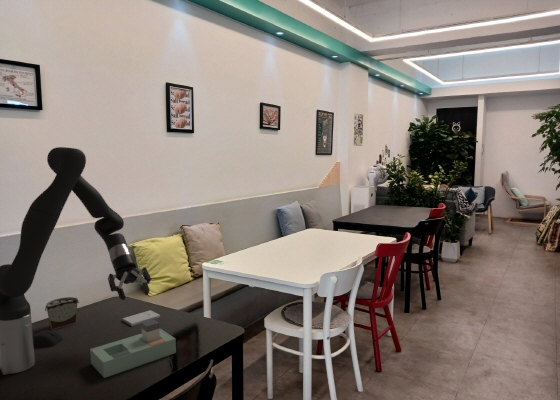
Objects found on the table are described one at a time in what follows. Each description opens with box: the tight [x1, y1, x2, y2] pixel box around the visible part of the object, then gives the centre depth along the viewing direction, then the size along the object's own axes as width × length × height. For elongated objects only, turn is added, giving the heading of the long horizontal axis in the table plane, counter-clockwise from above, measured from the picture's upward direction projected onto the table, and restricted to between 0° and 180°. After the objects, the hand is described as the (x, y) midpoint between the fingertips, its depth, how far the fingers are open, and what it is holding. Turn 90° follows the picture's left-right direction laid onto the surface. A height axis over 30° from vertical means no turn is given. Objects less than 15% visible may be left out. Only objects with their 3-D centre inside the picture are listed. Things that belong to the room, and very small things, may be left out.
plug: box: [140, 319, 160, 344], centre depth 145 cm, size 4×4×10 cm
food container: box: [44, 296, 80, 331], centre depth 170 cm, size 12×6×10 cm, turn 134°
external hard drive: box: [121, 309, 161, 327], centre depth 175 cm, size 2×8×12 cm
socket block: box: [89, 327, 177, 379], centre depth 141 cm, size 24×12×5 cm, turn 132°
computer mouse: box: [33, 329, 63, 348], centre depth 154 cm, size 6×11×4 cm, turn 83°
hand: (136, 296), depth 152 cm, fingers open, 8 cm apart
